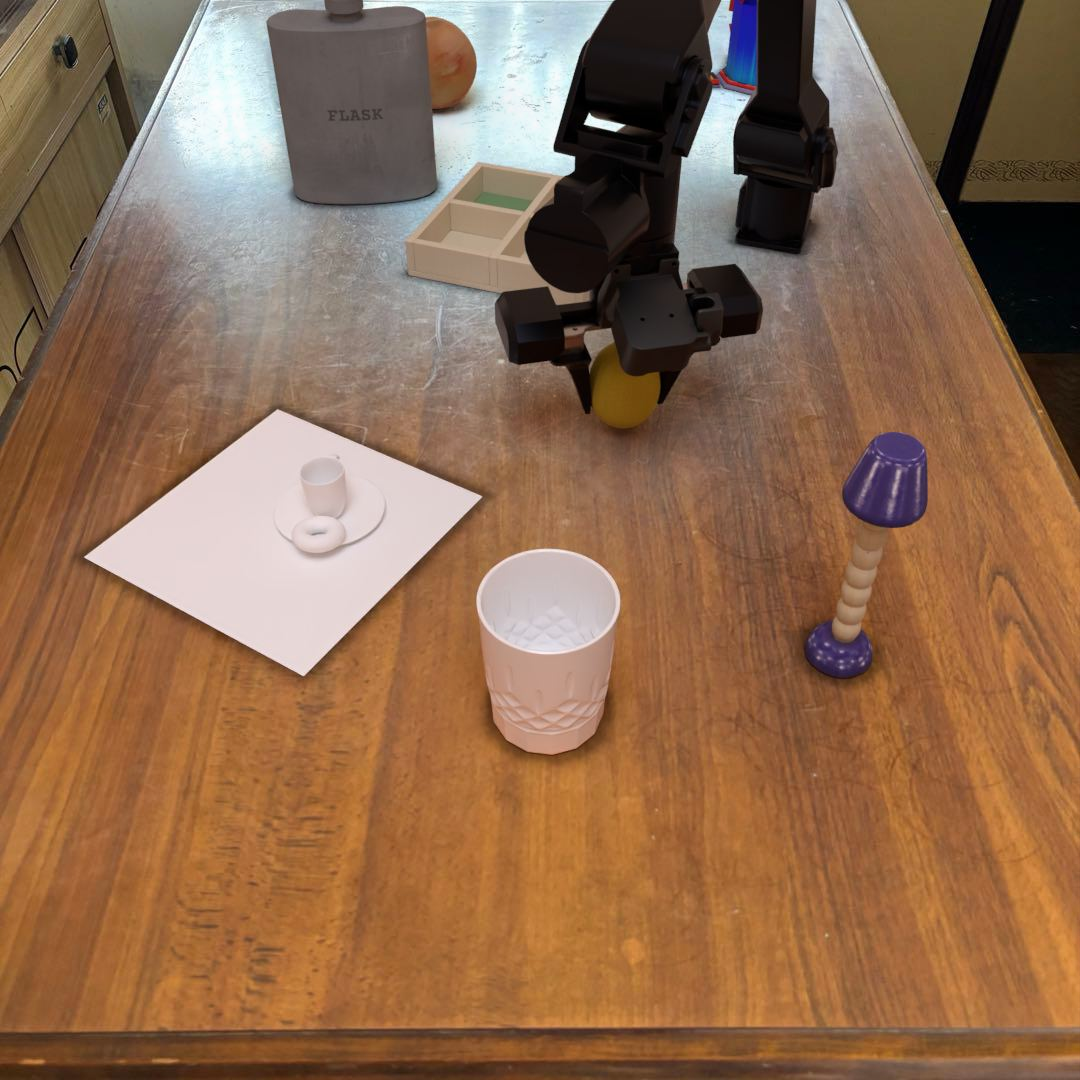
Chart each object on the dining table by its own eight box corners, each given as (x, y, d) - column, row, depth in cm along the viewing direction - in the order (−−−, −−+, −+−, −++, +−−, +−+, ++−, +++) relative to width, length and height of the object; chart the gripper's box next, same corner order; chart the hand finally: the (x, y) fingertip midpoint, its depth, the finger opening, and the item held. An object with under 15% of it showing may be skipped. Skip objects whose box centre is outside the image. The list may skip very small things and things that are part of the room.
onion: (494, 99, 133) (492, 12, 126) (446, 129, 127) (441, 39, 120) (430, 82, 137) (424, -3, 130) (380, 111, 131) (371, 23, 124)
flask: (292, 208, 113) (257, 2, 100) (296, 182, 118) (263, -19, 104) (438, 202, 114) (423, -3, 100) (436, 176, 119) (422, -24, 105)
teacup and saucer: (330, 574, 76) (322, 531, 73) (243, 532, 79) (232, 489, 76) (407, 501, 81) (402, 459, 78) (323, 464, 84) (316, 422, 81)
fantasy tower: (691, 83, 137) (701, -20, 128) (735, 54, 144) (747, -46, 135) (777, 106, 132) (793, -1, 123) (819, 74, 139) (837, -29, 130)
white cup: (480, 664, 70) (473, 552, 63) (603, 656, 70) (610, 543, 63) (486, 769, 64) (479, 658, 57) (620, 759, 65) (630, 648, 58)
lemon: (651, 453, 85) (659, 367, 79) (580, 444, 86) (583, 358, 80) (660, 410, 89) (668, 325, 83) (592, 402, 89) (596, 317, 84)
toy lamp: (798, 621, 72) (847, 419, 61) (870, 623, 72) (932, 420, 61) (809, 678, 69) (863, 475, 57) (884, 680, 69) (953, 477, 57)
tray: (638, 222, 111) (640, 188, 109) (583, 310, 100) (584, 274, 97) (479, 194, 116) (477, 161, 113) (408, 275, 104) (405, 240, 101)
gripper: (524, 301, 68) (526, 491, 79) (808, 266, 71) (773, 454, 82) (490, 215, 76) (496, 399, 86) (747, 187, 78) (722, 368, 89)
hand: (622, 406), depth 86 cm, fingers closed on lemon, 5 cm apart
